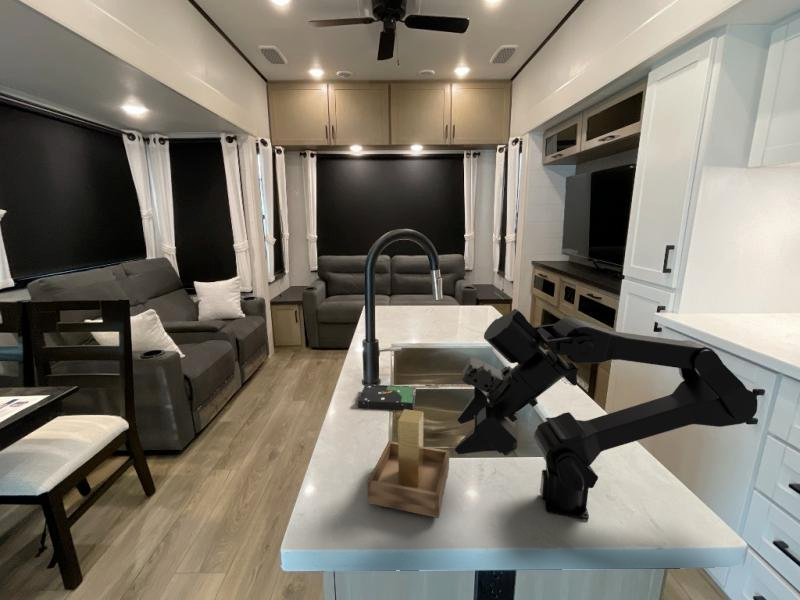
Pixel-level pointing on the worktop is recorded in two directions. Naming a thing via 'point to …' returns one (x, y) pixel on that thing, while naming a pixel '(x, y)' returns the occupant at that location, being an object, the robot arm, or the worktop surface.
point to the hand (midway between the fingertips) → (457, 435)
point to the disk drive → (387, 397)
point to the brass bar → (410, 447)
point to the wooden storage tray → (406, 497)
